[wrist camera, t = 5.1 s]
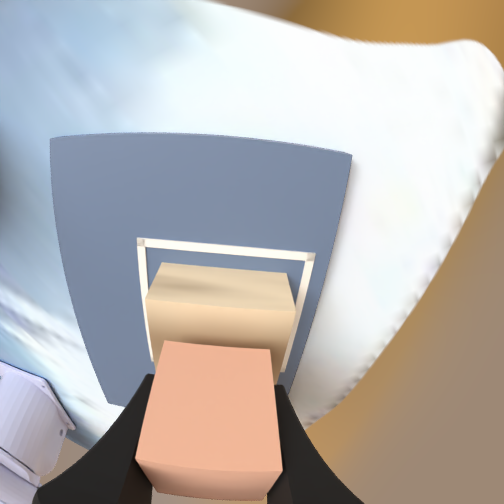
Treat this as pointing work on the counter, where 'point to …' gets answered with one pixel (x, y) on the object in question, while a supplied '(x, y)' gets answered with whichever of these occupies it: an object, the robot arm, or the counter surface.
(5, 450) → the robot arm
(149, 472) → the top block
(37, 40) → the counter surface
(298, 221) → the board
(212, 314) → the base block
